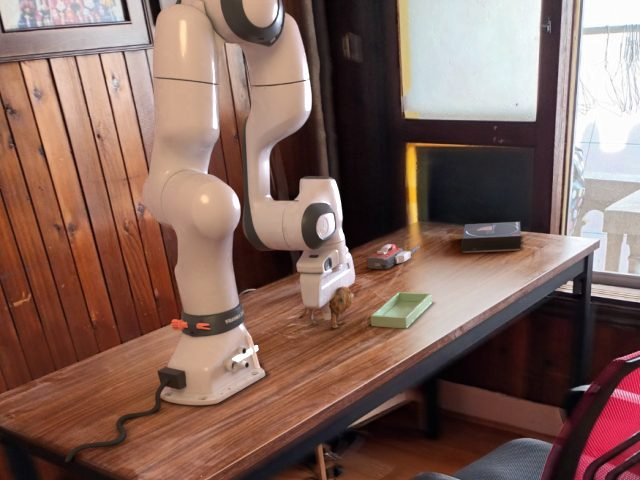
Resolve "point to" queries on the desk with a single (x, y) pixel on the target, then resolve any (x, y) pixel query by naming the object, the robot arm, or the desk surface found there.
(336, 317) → the lion figurine
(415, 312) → the tray
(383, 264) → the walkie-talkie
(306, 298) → the robot arm
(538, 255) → the desk surface
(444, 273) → the desk surface
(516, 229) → the portable cd player
